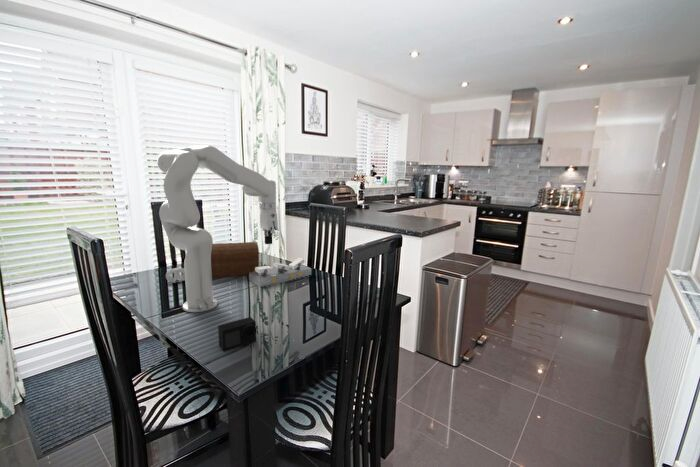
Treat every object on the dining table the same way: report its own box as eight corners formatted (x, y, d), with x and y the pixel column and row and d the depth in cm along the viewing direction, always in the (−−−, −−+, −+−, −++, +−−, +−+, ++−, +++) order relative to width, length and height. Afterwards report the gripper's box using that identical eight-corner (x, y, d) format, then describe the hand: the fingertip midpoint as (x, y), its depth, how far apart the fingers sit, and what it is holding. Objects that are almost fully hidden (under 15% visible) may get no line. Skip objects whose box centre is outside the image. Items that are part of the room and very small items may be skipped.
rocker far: (305, 262, 168) (303, 259, 167) (294, 269, 164) (293, 266, 163) (300, 260, 171) (299, 257, 170) (290, 267, 168) (288, 264, 167)
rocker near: (272, 271, 156) (272, 267, 156) (259, 273, 151) (259, 269, 151) (268, 269, 159) (268, 265, 159) (254, 271, 155) (254, 267, 154)
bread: (200, 269, 172) (198, 241, 169) (257, 266, 182) (256, 238, 179) (196, 280, 155) (194, 248, 152) (259, 275, 166) (259, 245, 163)
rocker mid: (288, 270, 162) (289, 266, 162) (276, 268, 157) (277, 264, 157) (284, 268, 165) (285, 264, 165) (272, 266, 161) (273, 262, 161)
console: (311, 275, 167) (311, 266, 166) (260, 287, 148) (259, 277, 147) (299, 270, 176) (299, 261, 175) (249, 280, 157) (248, 270, 157)
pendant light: (192, 279, 157) (188, 219, 151) (177, 285, 148) (172, 222, 142) (177, 276, 159) (172, 218, 153) (161, 283, 150) (155, 220, 144)
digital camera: (224, 354, 94) (223, 332, 93) (218, 346, 98) (217, 325, 97) (257, 343, 100) (257, 322, 99) (251, 336, 104) (250, 316, 103)
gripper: (282, 207, 148) (282, 245, 151) (268, 204, 159) (268, 240, 163) (267, 208, 143) (268, 247, 147) (253, 205, 154) (254, 241, 158)
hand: (268, 243), depth 155 cm, fingers closed
